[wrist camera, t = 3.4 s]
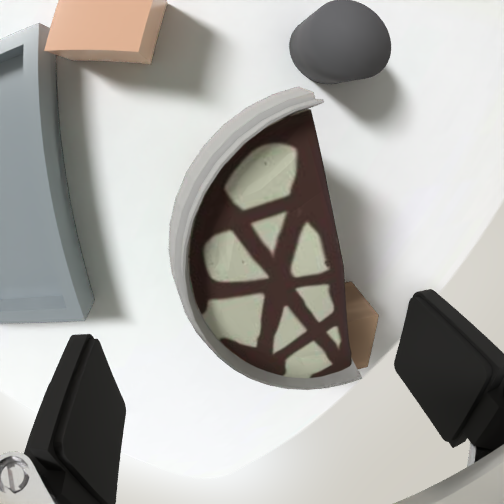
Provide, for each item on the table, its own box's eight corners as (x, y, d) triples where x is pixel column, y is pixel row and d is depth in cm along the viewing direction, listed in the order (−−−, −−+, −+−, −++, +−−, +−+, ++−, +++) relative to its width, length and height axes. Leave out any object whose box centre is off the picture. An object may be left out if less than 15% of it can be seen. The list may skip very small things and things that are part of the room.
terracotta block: (167, 3, 14) (160, -22, 10) (151, 64, 15) (138, 51, 12) (89, 1, 13) (65, -20, 9) (72, 60, 14) (44, 50, 11)
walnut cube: (351, 281, 23) (378, 315, 19) (344, 329, 25) (367, 366, 21) (291, 289, 22) (311, 327, 18) (290, 339, 24) (306, 380, 20)
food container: (153, 129, 17) (102, 145, 8) (258, 97, 17) (319, 81, 8) (216, 307, 22) (231, 427, 13) (302, 281, 22) (362, 385, 13)
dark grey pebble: (355, 22, 16) (387, 7, 12) (359, 86, 17) (393, 83, 14) (287, 15, 15) (308, -6, 11) (290, 82, 17) (313, 75, 13)
